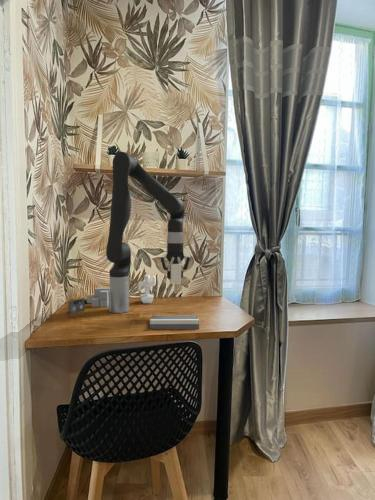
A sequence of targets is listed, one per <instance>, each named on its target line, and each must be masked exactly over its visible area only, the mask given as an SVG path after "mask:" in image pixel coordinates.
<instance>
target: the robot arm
mask: <svg viewBox="0 0 375 500" xmlns="http://www.w3.org/2000/svg"><path fill="white" fill-rule="evenodd" d="M129 177H131V178H132V179H134V180H135V181H136V182H137V183H139V184H140V185H141V186H142V188H143V189H144V190H145V191H146V192H147V193H148V194H149V195H150V196H151V197H152V198H154V199H155V200H156V201H157V202H158V203H160V204H161V206H162V207H163V208H164V209H165V210H166V211H167V212H168V213H169V220H168V221H167V238H166V255H163V256H160V261H161V266H162V269H163V270H164V271H166V278H167V279H168V280H169V279H170V266H171V264H181V280H182V279H183V277H184V271H185V270H186V271H187V269H188V268H189V264H190V260H191V258H190V256H186V255H185V254H184V219H185V217H184V216H185V210H186V209H185V208H186V207H185V206H186V205H185V202H184V201H183V200H182V199H180V198H177V196H175V195H173V194H172V193H171V192H170V191H169V190H168V188H167V187H166V186H164V185H163V184H162V183H161V182H160V181H158V180H157V179H156V178H154V177H153V176H152V175H151V174H149V173H148V172H147V170H145V169H144V167H142V165H141V164H140V163H139V162H138V160H136V158H135V157H134V156H133V155H132V154H129V153H127V152H125V151H118V152H117V153H116V154H114V156H113V159H112V188H111V189H112V192H111V202H110V218H109V219H110V221H109V232H108V238H107V244H106V250H105V255H106V259H107V260H108V261H109V263H112V264H113V266H112V268H111V269H110V270H109V274H108V275H109V287H110V292H109V305H108V313H113V314H120V313H121V314H122V313H128V312H129V311H130V271H131V264H132V263H131V262H132V253H131V248H130V246H129V244H127V243H125V242H123V238H124V232H125V230H126V228H127V226H128V223H129V222H130V219H131V213H132V211H131V210H132V198H131V194H130V193H131V192H130V189H129ZM166 260H167V261H168V265H167V266H166V263H165V262H166ZM183 260H184V264H182V261H183Z"/></svg>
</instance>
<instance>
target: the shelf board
mask: <svg viewBox="0 0 375 500" xmlns="http://www.w3.org/2000/svg"><path fill="white" fill-rule="evenodd" d="M149 329H150V330H168V329H169V330H174V329H175V330H181V329H182V330H185V329H188V330H193V329H195V330H197V329H199V330H200V319H199V317H198V315H192V314H191V315H183V314H181V315H178V314H177V315H151V318H150V319H149Z"/></svg>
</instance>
